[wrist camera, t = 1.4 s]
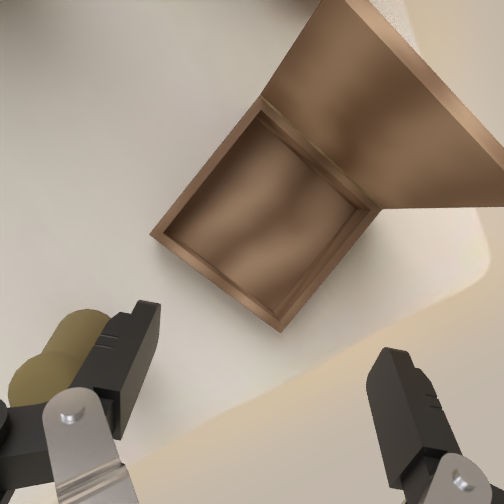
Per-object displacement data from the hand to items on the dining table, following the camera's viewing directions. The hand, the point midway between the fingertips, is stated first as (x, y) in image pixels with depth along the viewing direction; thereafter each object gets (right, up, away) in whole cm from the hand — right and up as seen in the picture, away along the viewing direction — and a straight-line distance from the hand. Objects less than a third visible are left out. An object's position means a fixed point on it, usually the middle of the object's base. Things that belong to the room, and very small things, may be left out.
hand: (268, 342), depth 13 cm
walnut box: (0, +7, +23) cm, 24 cm away
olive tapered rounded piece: (-17, -5, +23) cm, 29 cm away
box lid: (+7, +11, +12) cm, 18 cm away
